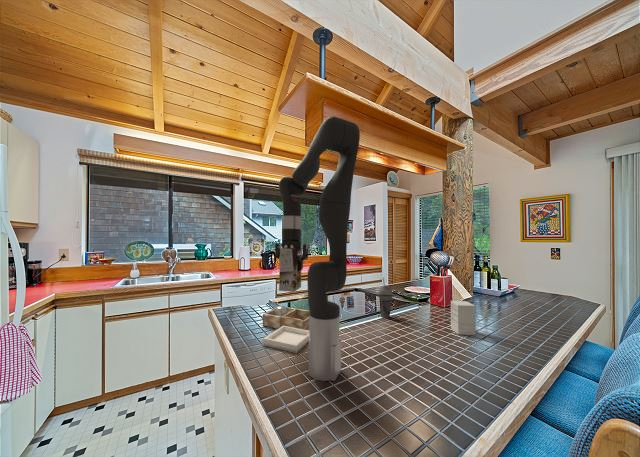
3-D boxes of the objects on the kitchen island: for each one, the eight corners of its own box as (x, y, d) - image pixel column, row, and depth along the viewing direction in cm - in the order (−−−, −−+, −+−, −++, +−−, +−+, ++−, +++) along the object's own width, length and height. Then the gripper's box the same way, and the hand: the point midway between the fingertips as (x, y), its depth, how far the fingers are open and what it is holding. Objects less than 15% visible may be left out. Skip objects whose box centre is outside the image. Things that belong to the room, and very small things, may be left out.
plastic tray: (313, 337, 97) (313, 331, 97) (296, 353, 84) (296, 345, 84) (283, 331, 103) (283, 325, 103) (263, 345, 90) (263, 338, 90)
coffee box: (294, 292, 89) (295, 248, 89) (278, 291, 90) (279, 247, 91) (301, 287, 98) (302, 247, 98) (286, 286, 99) (287, 246, 100)
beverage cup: (394, 319, 120) (394, 279, 121) (379, 318, 121) (380, 278, 121) (390, 314, 128) (390, 276, 128) (376, 314, 128) (377, 276, 128)
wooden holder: (317, 322, 114) (317, 311, 114) (304, 333, 101) (304, 320, 101) (279, 316, 122) (279, 305, 122) (262, 325, 109) (262, 313, 109)
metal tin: (287, 321, 115) (288, 306, 115) (282, 324, 110) (282, 309, 111) (278, 319, 117) (279, 305, 117) (272, 323, 112) (273, 307, 112)
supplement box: (467, 329, 110) (467, 301, 110) (476, 335, 102) (476, 305, 103) (450, 328, 110) (450, 300, 111) (457, 334, 103) (457, 304, 103)
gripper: (270, 227, 94) (269, 270, 93) (303, 227, 88) (303, 272, 88) (281, 228, 101) (280, 268, 100) (312, 228, 95) (311, 270, 95)
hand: (290, 270), depth 94 cm, fingers closed on coffee box, 7 cm apart
